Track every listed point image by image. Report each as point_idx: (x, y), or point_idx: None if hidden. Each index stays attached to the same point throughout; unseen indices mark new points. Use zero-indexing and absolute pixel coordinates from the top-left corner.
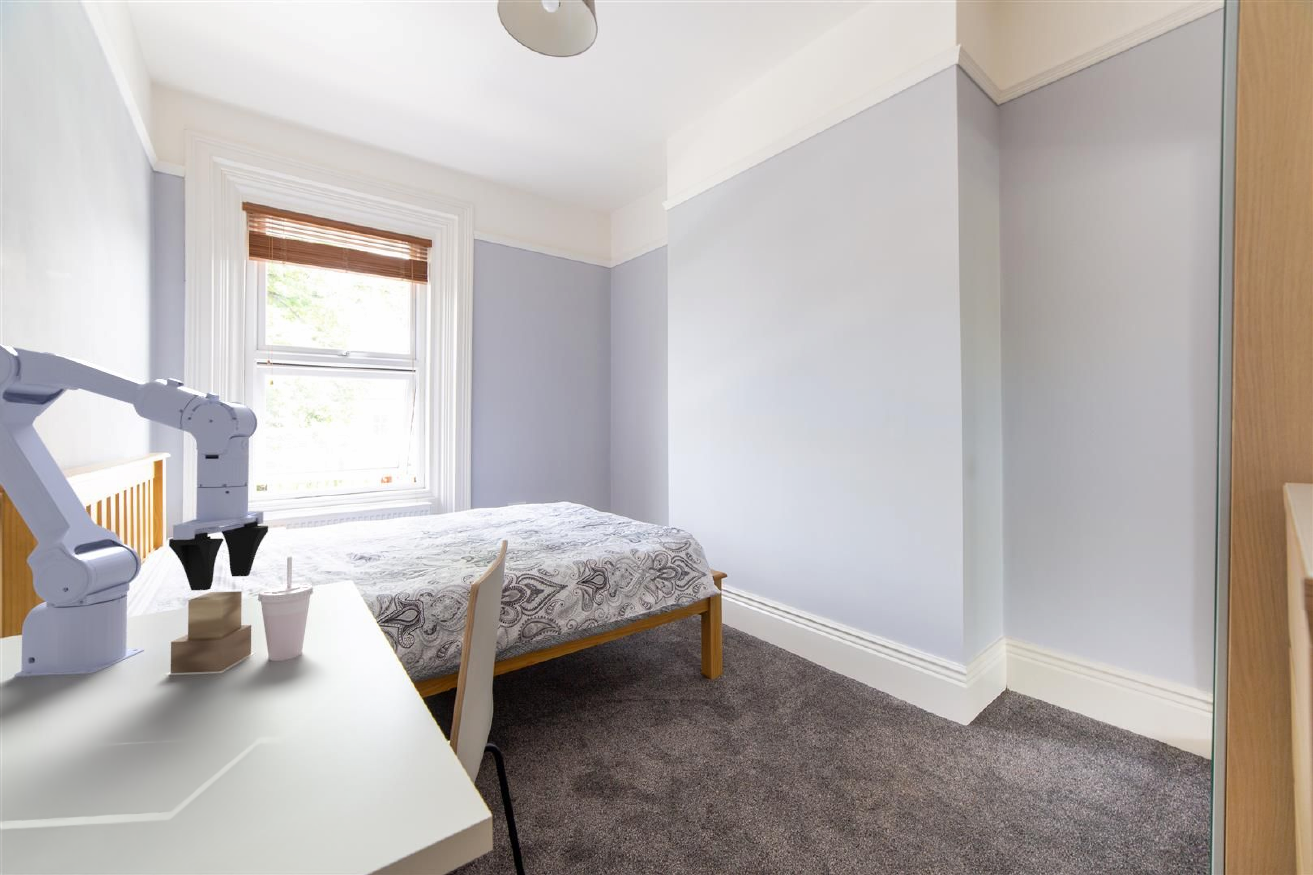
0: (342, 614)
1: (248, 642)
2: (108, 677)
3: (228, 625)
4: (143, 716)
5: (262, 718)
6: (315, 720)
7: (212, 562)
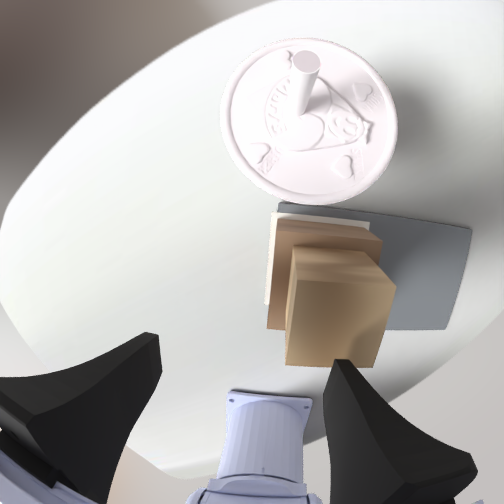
0: (62, 169)
1: (286, 223)
2: (321, 380)
3: (344, 254)
4: (469, 250)
5: (492, 104)
6: (490, 52)
7: (380, 414)
